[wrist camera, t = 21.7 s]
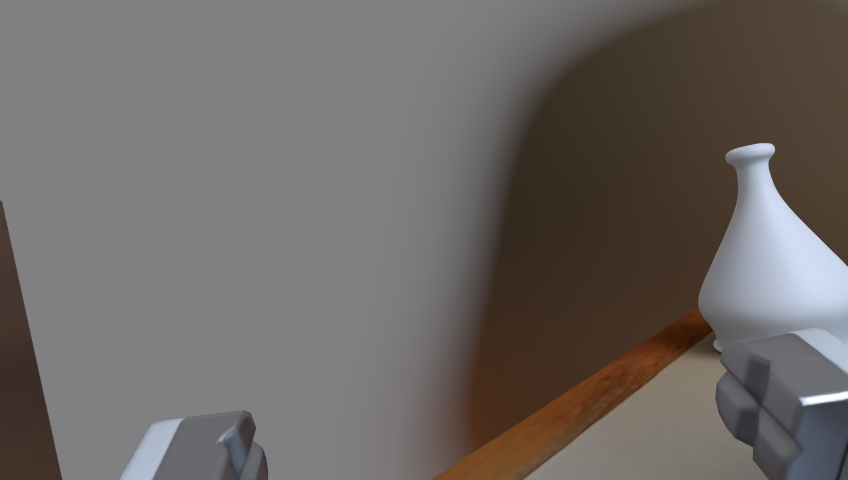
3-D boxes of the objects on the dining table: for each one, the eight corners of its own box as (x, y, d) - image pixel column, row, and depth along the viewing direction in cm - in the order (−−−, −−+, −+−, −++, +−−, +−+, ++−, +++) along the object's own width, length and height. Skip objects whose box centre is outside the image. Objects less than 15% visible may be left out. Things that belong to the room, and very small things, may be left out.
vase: (677, 353, 68) (643, 167, 68) (751, 319, 77) (721, 154, 76) (830, 373, 53) (787, 134, 52) (901, 329, 61) (865, 121, 61)
